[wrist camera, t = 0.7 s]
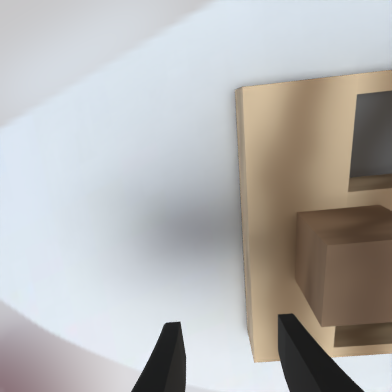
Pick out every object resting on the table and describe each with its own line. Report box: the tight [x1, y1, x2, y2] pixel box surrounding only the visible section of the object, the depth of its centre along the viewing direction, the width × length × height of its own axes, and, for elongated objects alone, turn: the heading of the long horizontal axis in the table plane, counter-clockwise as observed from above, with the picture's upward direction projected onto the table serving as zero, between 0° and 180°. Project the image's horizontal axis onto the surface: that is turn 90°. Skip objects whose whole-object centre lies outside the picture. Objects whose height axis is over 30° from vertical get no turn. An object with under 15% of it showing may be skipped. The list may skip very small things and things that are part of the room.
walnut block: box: [295, 205, 392, 327], centre depth 15 cm, size 5×5×4 cm
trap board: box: [235, 70, 392, 363], centre depth 18 cm, size 18×20×3 cm
